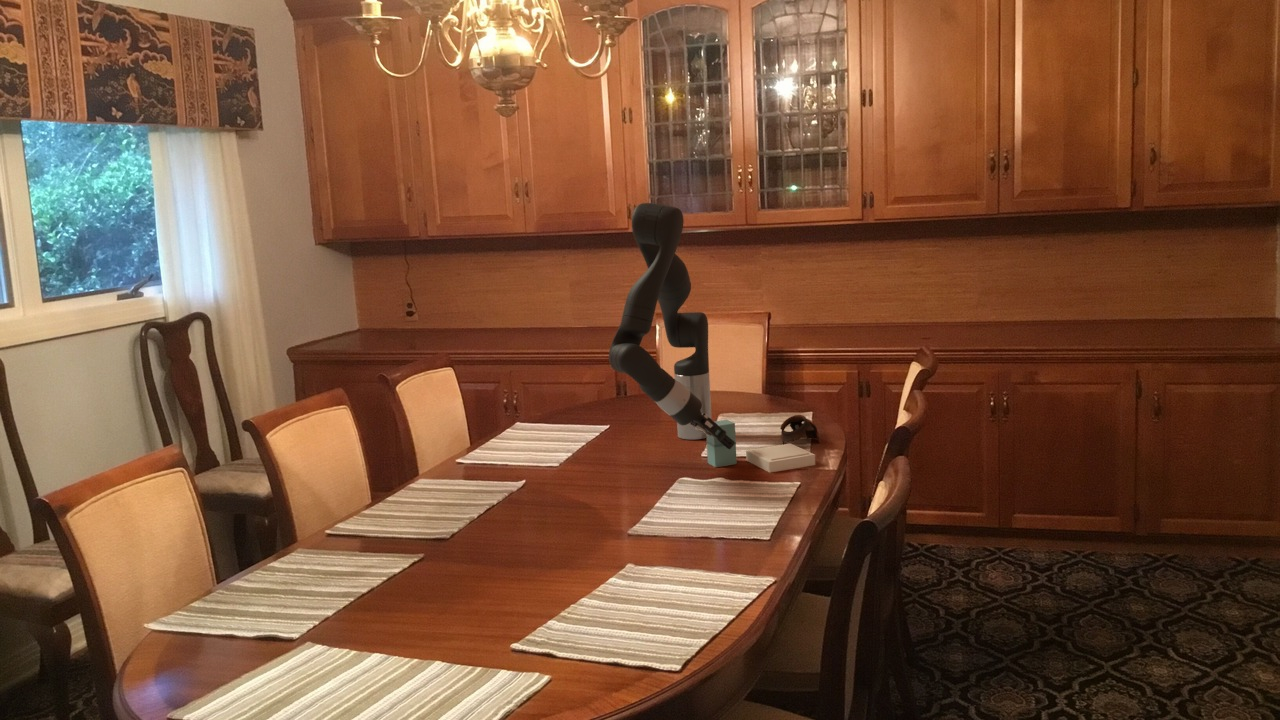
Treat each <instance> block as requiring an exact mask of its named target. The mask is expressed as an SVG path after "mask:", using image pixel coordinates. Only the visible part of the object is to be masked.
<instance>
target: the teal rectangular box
mask: <svg viewBox="0 0 1280 720" xmlns="http://www.w3.org/2000/svg"><path fill="white" fill-rule="evenodd" d="M713 421H714V420H713ZM714 422H715V423H717V425H718V426H719V427H721V428H722V429H723V430H725V431H726V435H727V436H728V437H729V438H731V439H732V440H733V441H734V442H735V444H734V445H733V446H732V448H731V449H728V448H726V447H725V446H724V445H723V444H722V443H720V442H719V441H717V440H716V439H715V438H714V437H713V436H708V435H706V436H707V438H706V452H707V464H709V465H710V466H713V467H714V468H719V467H725V466H732V465H736V464H738V463H737V462H738V460H737V441H736V439H737V437H736V423H735V422H733V421H731V420H728V419H723V420H722V419H721V420H715V421H714ZM707 432H708V431H707ZM719 432H720V431H718V430H717V431H716V432H715V434H716V435H718V433H719Z"/></svg>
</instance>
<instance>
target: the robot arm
mask: <svg viewBox="0 0 1280 720" xmlns="http://www.w3.org/2000/svg"><path fill="white" fill-rule="evenodd" d="M684 220H685V219H684V214H683V212H682V210H681V209H680V208H678V207H675V206H670V205H664V204H658V203H653V202H642V203H640V204H638V205H637V206H636V207H635V208H634V210H633V212H632V215H631V230H632V235H633V237H634V240H635V242H636V245H637V247H638V248H639V250H640V253H641V254H642V258H643V259H644V261H645V265H646V267H647V270H645V272H644V273H643V274H642V275H641V276H640V277H639V278H638V279H637V281H635V283H634V284H633V285H632V287H630V290H629V292H628V293H627V295H626V299H625V304H624V308H623V312H622V317H621V321H620V324H619V326H618V327H617V328H618V329H617V330H616V333H615V334H614V338H613V339H612V341H611V344H610V347H609V353H608V361H609V362H608V363H609V365H610V367H611V368H612V369H613V370H614V371H616V373H617V372H618V373H621V374H625V375H627V376H629V378H631V379H633V380H634V382H636V383H637V384H638V386H639V388H640V390H641V391H642V392H643V394H645V395H646V396H648V397H649V399H651V400H652V401H654V403H655V404H657V406H658V408H660V409H661V410H662V411H664V413H666V414H667V415H668V416H669V417H670V418H671V419H673V420H674V421H675V422H676V425H677V427H676V429H677V437H678V438H679V439H683V440H701V439H707V436H706V435H708V436H713V437H714V438H715V439H716V440H717V441H719V442H720V443H722V444H723V445H724V446H725V447H726V448H728V449H731V448H732V446H733V445H734V444H735V442H734V441H733V440H732V439H731V438H729V437H728V436H727V435H726V431H725V430H723V429H722V428H721V427H719V426H718V425H717V423H715V422H714V420H712V406H711V405H712V402H711V382H710V363H709V360H710V359H709V321H708V317H707V315H706V314H705V313H704V312H702V311H699V312H698V311H697V312H695V311H694V312H693V311H692V312H690V311H689V312H679V310H680V309H681V308H682V306H683V305H684V304H685V302H686V301H687V299H688V298H689V296H690V293H691V290H692V283H691V278H690V275H689V274H690V273H689V271H688V268H687V266H686V264H685V263H684V261H683V260H682V259H681V257H679V256H678V255H677V254H676V252H677V248H678V246H679V243H680V241H681V237H682V233H683V229H684V222H685V221H684ZM657 304H658V305H659V308H660V311H661V314H662V320H663V325H664V330H665V335H666V338H667V341H668V343H669V345H670V346H671V347H673V348H678V349H680V348H682V349H683V348H684V349H685V348H686V349H688V348H695V349H694V350H695V351H694V352H693V354H691V355H690V356H688V357H685V358H682V359H680V360H677V361H676V362H675V363H674V365H673V371H674V377H673V376H672V375H670V374H669V372H667V371H666V370H664V368H662V367H661V366H660V364H659V363H658V361H656V359H655V358H654V357H653V356H652V355H651V353H650V352H648V351H647V350H646V349H645V348H644V347H642V346H641V343H642V341H643V338H644V336H646V335H647V334H649V333H650V331H651V328H652V325H653V320H654V317H655V313H656V307H657ZM717 430H718V431H720V432H719V433H718V435H716V434H715V432H716V431H717ZM707 431H708V432H707Z"/></svg>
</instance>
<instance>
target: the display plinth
mask: <svg viewBox="0 0 1280 720" xmlns="http://www.w3.org/2000/svg"><path fill="white" fill-rule="evenodd" d="M745 455H746V457H745V459H746V461H747V462H749V463H750V464H752V465H754V466H756V467H757V468H760V469H761V470H764V471H766V472H768V473H769V474H771V473H777V472H781V471H788V470H793V469H800V468H804V467H805V468H806V467H810V466H811V467H812V466H816V454H814V453H812V452H810V451H808V450H805V449H804V448H801V447H799V446H797V445H795V444H792V443H786V444H784V445H783V444H778V445H773V446H768V447H767V446H765V447H760V448H753V449H747V450H745Z"/></svg>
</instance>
